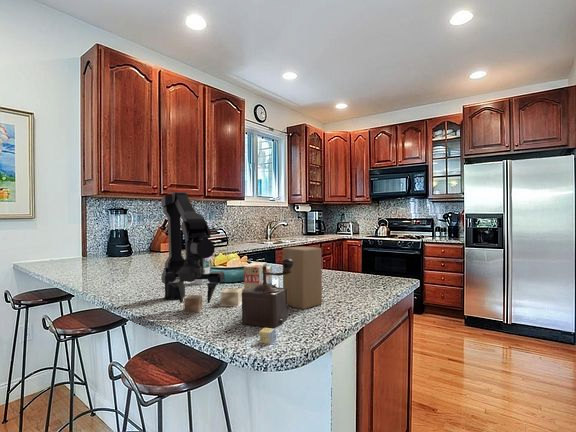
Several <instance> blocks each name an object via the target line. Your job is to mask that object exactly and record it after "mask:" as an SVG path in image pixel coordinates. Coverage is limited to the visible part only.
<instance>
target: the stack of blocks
mask: <svg viewBox="0 0 576 432" xmlns="http://www.w3.org/2000/svg"><path fill="white" fill-rule="evenodd" d="M267 265H268V264H267V262H263V261H262V262H261V261H259V262H258V261H256V262H255V261H253V262H251V263H249V264H247V265H245V266H243V284H244V285H243V288H244V289H243V292H245V291H247V290H250V289H253V288H255V287H256V286H258V285H260V284H262V283H263V273H262V271H263V269H262V267H263V266H266V267H267V268H266V271H267V272H272V270H273V269H272V266H271V265H270V266H269V265H268V266H267ZM266 282H267V284H269V283H271V284H272V285H273V275H266Z"/></svg>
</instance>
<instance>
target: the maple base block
mask: <svg viewBox="0 0 576 432" xmlns="http://www.w3.org/2000/svg"><path fill="white" fill-rule="evenodd" d="M242 292H243V288H225V289H224V290H223V291H221V296H220V297H221V301H220V302H221V303H220V305H239V304H240V303H241V302H242Z"/></svg>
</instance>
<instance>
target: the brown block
mask: <svg viewBox="0 0 576 432" xmlns="http://www.w3.org/2000/svg"><path fill="white" fill-rule="evenodd" d="M183 302H184V303H183V305H184V308H183V309H184V313H199V312H200V311H201V310H202V309H203V294H195V295H194V294H189V295H187V296H185V297H183Z"/></svg>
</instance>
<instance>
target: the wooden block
mask: <svg viewBox="0 0 576 432" xmlns="http://www.w3.org/2000/svg"><path fill="white" fill-rule="evenodd" d="M286 258H287V259H291V260H293V266H292V268H291V273H288V274H287V275H285V274H284V275H282V288H287V307H292V308H297V309H301V310H306V309H309V308H312V307H316V306H320V305H322V304H323V287H322V286H323V282H322V281H323V280H322V279H323V273H322V272H323V271H322V269H323V267H322V265H323V263H322V248H321V247H313V246H301V245H300V246H293V247H292V246H291V247H290V246H289V247H283V248H282V261H283V260H284V259H286ZM283 270H284V268H283V267H282V271H283Z"/></svg>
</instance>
